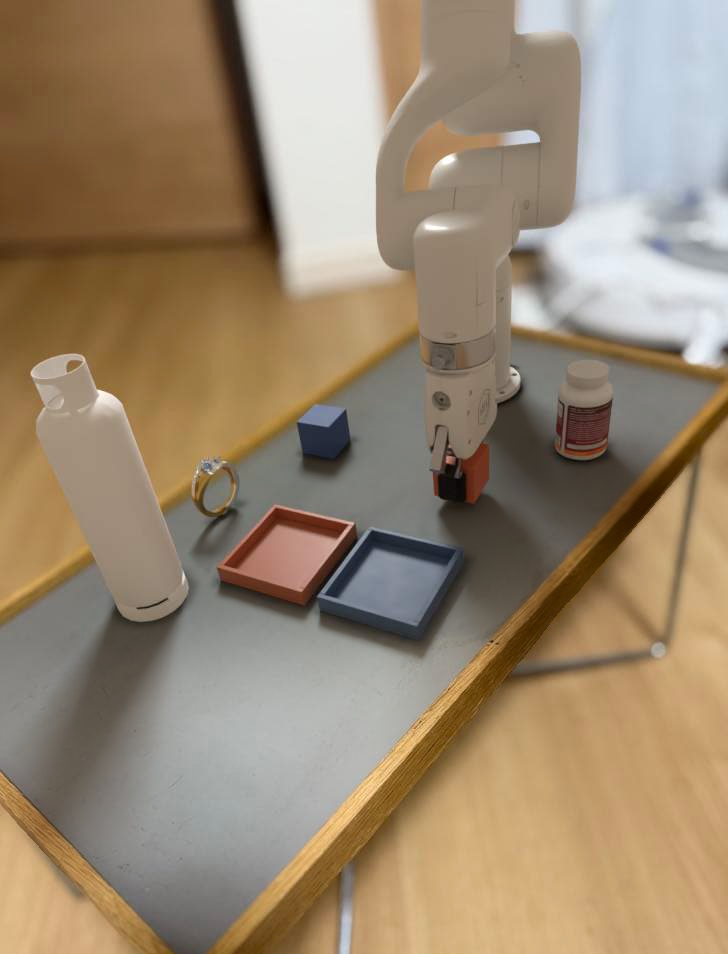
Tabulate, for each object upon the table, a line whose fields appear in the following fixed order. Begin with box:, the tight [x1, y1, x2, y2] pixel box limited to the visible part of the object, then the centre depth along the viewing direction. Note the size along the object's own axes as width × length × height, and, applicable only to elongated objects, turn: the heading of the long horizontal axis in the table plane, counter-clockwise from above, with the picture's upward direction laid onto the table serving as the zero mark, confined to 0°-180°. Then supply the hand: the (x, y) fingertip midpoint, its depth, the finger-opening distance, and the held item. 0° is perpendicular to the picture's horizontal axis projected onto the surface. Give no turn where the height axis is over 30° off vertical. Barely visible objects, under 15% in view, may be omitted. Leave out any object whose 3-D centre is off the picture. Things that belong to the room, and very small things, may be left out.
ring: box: [191, 454, 241, 518], centre depth 86 cm, size 7×3×8 cm, turn 137°
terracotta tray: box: [216, 503, 358, 607], centre depth 80 cm, size 12×11×2 cm
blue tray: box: [316, 525, 465, 641], centre depth 74 cm, size 12×11×2 cm
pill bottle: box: [554, 359, 614, 461], centre depth 85 cm, size 6×6×11 cm
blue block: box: [296, 403, 352, 460], centre depth 96 cm, size 5×5×5 cm
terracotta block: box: [432, 442, 490, 504], centre depth 82 cm, size 5×5×5 cm
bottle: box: [30, 353, 190, 623], centre depth 70 cm, size 8×8×28 cm
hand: (461, 484), depth 83 cm, fingers closed on terracotta block, 5 cm apart
